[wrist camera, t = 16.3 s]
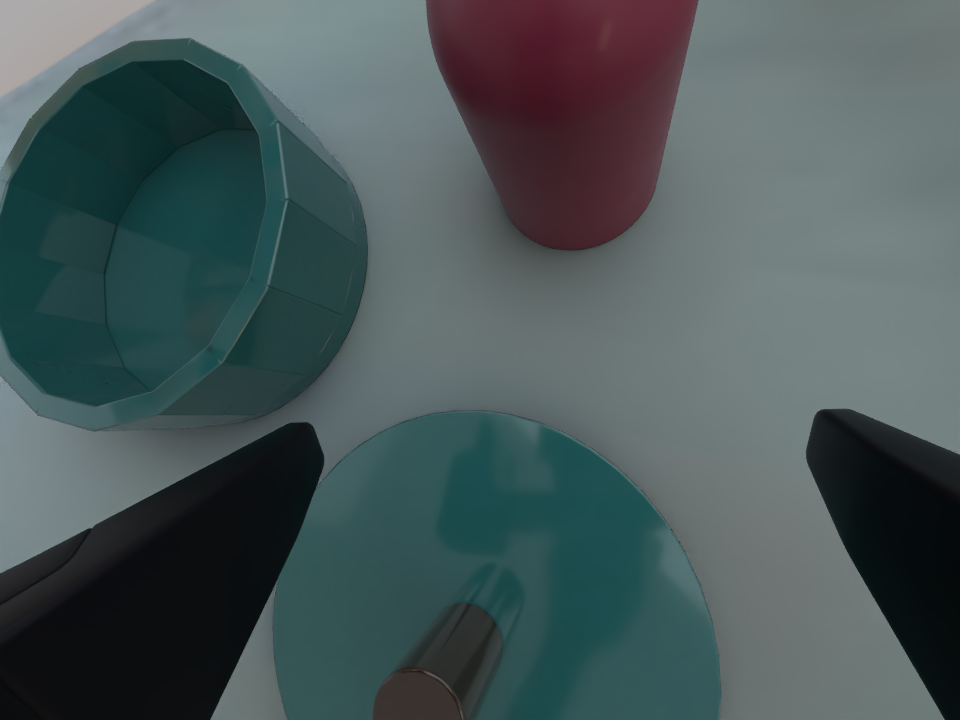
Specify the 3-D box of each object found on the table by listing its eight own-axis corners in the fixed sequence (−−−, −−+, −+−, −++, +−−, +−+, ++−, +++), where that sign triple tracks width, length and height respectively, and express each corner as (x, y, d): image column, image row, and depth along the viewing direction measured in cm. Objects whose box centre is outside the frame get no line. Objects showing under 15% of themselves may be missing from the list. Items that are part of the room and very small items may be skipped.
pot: (253, 489, 18) (129, 515, 14) (72, 323, 22) (-74, 298, 17) (429, 204, 18) (365, 126, 13) (211, 84, 22) (101, -10, 17)
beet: (601, 277, 16) (598, 2, 5) (473, 208, 17) (274, -108, 7) (690, 139, 15) (873, -439, 5) (552, 82, 17) (473, -446, 7)
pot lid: (540, 993, 14) (505, 1316, 9) (228, 649, 18) (86, 738, 13) (815, 593, 13) (943, 701, 8) (425, 335, 17) (353, 304, 12)
